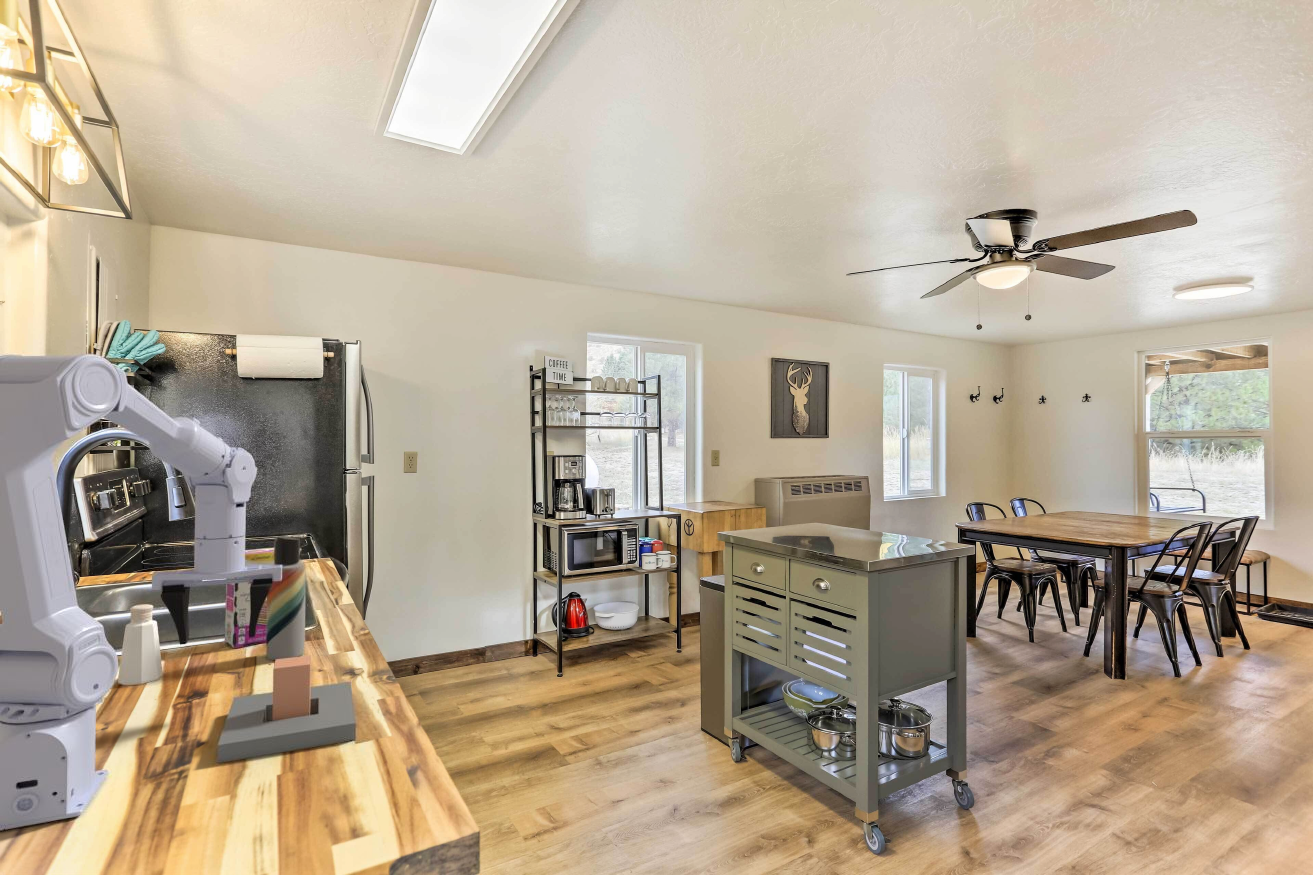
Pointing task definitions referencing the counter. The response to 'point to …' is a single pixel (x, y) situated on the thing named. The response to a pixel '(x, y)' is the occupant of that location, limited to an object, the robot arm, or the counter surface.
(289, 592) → the lotion bottle
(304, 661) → the terracotta peg
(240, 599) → the candy bar box
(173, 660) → the counter surface
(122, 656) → the pepper shaker
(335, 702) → the socket block
